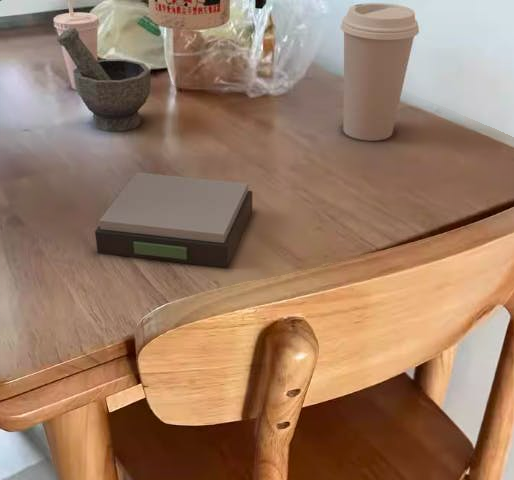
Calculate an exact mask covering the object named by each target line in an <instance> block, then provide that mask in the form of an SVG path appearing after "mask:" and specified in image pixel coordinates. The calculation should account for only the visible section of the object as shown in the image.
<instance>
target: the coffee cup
mask: <svg viewBox="0 0 514 480" xmlns="http://www.w3.org/2000/svg"><path fill="white" fill-rule="evenodd" d="M340 30H342V32H343V130H342V131H343V133H345V135H346V136H348V137H349V138H353V139H357V140H360V141H368V142H369V141H370V142H374V141H382V140H386V139H389V138H390V137H391V136H392V135H393V132H394V127H395V123H396V119H397V114H398V109H399V105H400V102H401V101H400V100H401V96H402V91H403V87H404V83H405V78H406V73H407V70H408V65H409V60H410V55H411V52H412V48H413V44H414V39H415V36H417V35H419V33H420V29H419V23H418V20H417V19H416V13H415V11H414V10H413V9H412V8H409V7H408V6H404V5H400V4H394V3H385V2H365V3H364V2H363V3H357V4H354V5H352V6H350V7H349V8H348V11H347V14H346V15H345V16H344V17H343V18H342V20H341V24H340Z"/></svg>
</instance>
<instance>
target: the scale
mask: <svg viewBox="0 0 514 480" xmlns="http://www.w3.org/2000/svg"><path fill="white" fill-rule="evenodd" d="M252 213H253V190H249V183H248V182H237V181H227V180H218V179H209V178H208V179H207V178H197V177H190V176H189V177H188V176H177V175H170V174H169V175H168V174H167V175H166V174H157V173H150V172H149V173H148V172H135V174H134V175H133V176H132V177H131V179H130V180H129V181H128V182H127V184H126V185H125V186H124V188H123V189H122V191H120V193H119V194H118V195H117V197H116V198H115V200H114V201H112V203H111V204H110V206H109V207H108V208H107V210H106V211H105V212H104V213H103V215H102V216H101V217H100V219H99V220H98V221H99V225H98V226H97V228H96V229H95V231H94V236H95V243H96V251H97V253H98V254H106V255H113V256H122V257H132V258H139V259H149V260H155V261H156V260H157V261H164V262H172V263H182V264H189V265H198V266H199V265H200V266H207V267H215V268H224V269H228V267H229V265H230V263H231V261H232V259H233V256H234V254H235V252H236V249H237V247H238V245H239V243H240V240H241V238H242V235H243V234H244V231H245V228H246V226H247V225H248V222H249V220H250V217H251V214H252Z"/></svg>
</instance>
